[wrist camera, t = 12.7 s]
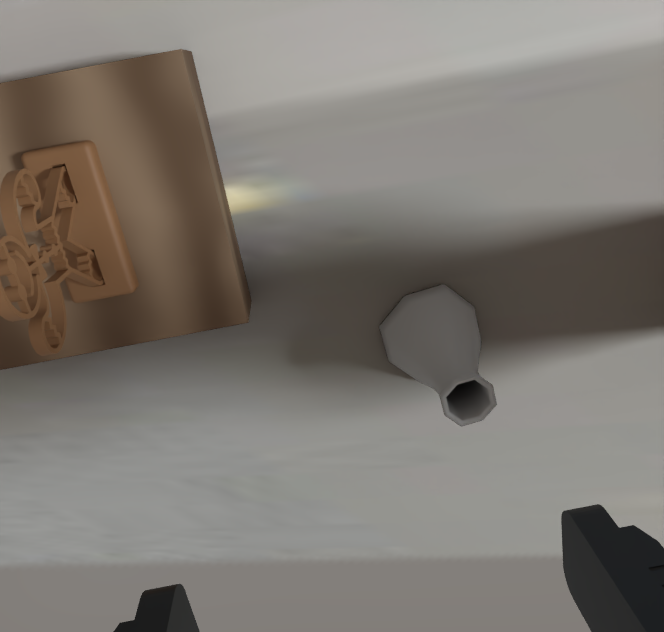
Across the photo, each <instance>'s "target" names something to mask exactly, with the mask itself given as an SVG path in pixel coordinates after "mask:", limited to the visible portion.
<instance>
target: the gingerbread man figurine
mask: <svg viewBox="0 0 664 632" xmlns="http://www.w3.org/2000/svg"><path fill="white" fill-rule="evenodd" d="M21 161H22V163H23V166H24V169H19V170H14V171H10V172H8V173H7V174H6V175H5V176H4V178H3V180H2V183H1V189H0V207H1V214H2V219H3V223H4V227H5V230H6V233H7V236H3V237H0V277H2V276H7V277H8V279H9V282H10V284H11V286H6V287H5V288H4V289H3V286H2V283H1V279H0V316H1V317H3V318H4V319H6V320H8V321H12V322H14V321H20V320H25V319H30V321H29V326H28V331H29V338H30V341H31V344H32V346H33V348H34V350H35V351H36V353H37V354H39V355H40V356H46V355H51V354H56V353H58V352H59V351H60V350H61V348H62V346H63V344H64V340H65V336H66V327H67V319H66V309H65V303H64V298H63V294H62V290H61V287H60V283H61V282H62V281H63V280H65V283H66V285H67V288H68V291H69V294H70V296H71V299H72V301H73V302H75V303H82V302H88V301H93V300H98V299H103V298H109V297H114V296H119V295H125V294H130V293H133V292H134V291H135V290H136V289H137V287H138V285H139V283H138V280H137V277H136V273H135V270H134V267H133V264H132V261H131V257H130V254H129V251H128V248H127V245H126V241H125V238H124V235H123V232H122V229H121V225H120V222H119V219H118V216H117V213H116V209H115V206H114V203H113V200H112V197H111V193H110V190H109V187H108V184H107V181H106V177H105V174H104V171H103V168H102V164H101V161H100V158H99V155H98V152H97V148H96V145H95V144H94V142H92V141H90V140H86V141H80V142H75V143H70V144H64V145H59V146H54V147H49V148H43V149H38V150H33V151H29V152H26V153H24V154H23V155H22V156H21ZM16 198H18V203H19V206H21V207H23V208H22V209H21V214H20V216H21V223H22V226H23V229H24V231H25V233H26V232H32V231H37V230H39V229H40V230H41V231H42V232H43V238H44V239H45V240H46V241H45V246H40V251H39V252H38V249H37V245H36V244H30V245H28V244H27V241H26V238H25V236H24V233H23V230H22V227H21V224H20V220H19V216H18V211H17V202H16ZM38 209H39V210H40V213H41V216H40V218H39V219H37V220H36V211H37V210H38ZM7 249H8V250H9V251H10V252H8V250H7ZM49 257H51V261H52V262H53V263H54V269H55V270H56V271H57V272H56V273H55V274H54V275H52V276H51V277H50V278H49V279H48V280H47V281H46V282H44V285H45V288H46V291H47V294H48V297H49V301H50V306H51V313H52V319H51V317H48V316H49V311H50V307H49V301H48V297H47V294H46V291H45V289H44V286H43V284H42V281H44V280H45V279H46V278H47V272H46V271H45V269H44V268H43V266H42V265H41V264H45V263H48V262H49ZM14 302H18V305H19V307H20V310H21V311H18V310H17V309H16V308H15V307H14V306H13V305H12V304H11V303H14Z"/></svg>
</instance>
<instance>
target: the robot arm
mask: <svg viewBox="0 0 664 632" xmlns="http://www.w3.org/2000/svg"><path fill="white" fill-rule="evenodd" d="M561 520H562V546H563V568H564V573H565V578H566V581H567V585H568V587H569V590H570V593H571V595H572V597H573V599H574V601H575V603H576V604H577V606H578V608H579V610H580V612H581V614H582V615H583V617H584V619H585V621H586V623H587V624H588V626H589V628H590V630H591V632H664V548H663V547H662V546H661V544H660V543H659V542H658V541H657V540H655V539H654V538H652V537H651V536H649V535H648V534H646V533H645V532H643V531H642V530H640V529H639V528H637V527H636V526H634V525H632V526H627V527H622V528H619V527H618V526H617V525H616V523H615V522H614V521H613V519H612V518H611V517H610V515H609V514H608V513H607V511H606V510H605V509H604V508H603V507H602V506H601V505H599V504H597V505H592V506H587V507H582V508H577V509H572V510H566V511H563V512H562V518H561ZM114 632H199V629H198V626H197V623H196V620H195V618H194V615H193V612H192V609H191V606H190V603H189V601H188V598H187V595H186V592H185V589H184V587H183V586H182V585H181V584H176V585H171V586H166V587H161V588H156V589H150V590H145V591H144V592H143V593H142V595H141V598H140V602H139V605H138V609H137V613H136V617H135V620H133V621H128V622H122V623H120V624H119V625H118V626H117V628H116V629H115V631H114Z"/></svg>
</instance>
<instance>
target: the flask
mask: <svg viewBox="0 0 664 632" xmlns="http://www.w3.org/2000/svg"><path fill="white" fill-rule="evenodd" d="M379 328H380V332H381V335H382V339H383V342H384V346H385V350H386V353H387V357H388V361H389V362H391V363H392V364H394V365H395V366H397V367H398V368H399V369H401V370H402V371H404V372H405V373H407V374H408V375H410V376H411V377H413V378H414V379H416V380H417V381H419V382H421V383H422V384H425V385H427V386H429V387H432V388H433V389H434V390H435V391H436V392H437V393H438V394H439V396H440V400H441V404H442V408H443V412H444V415H445V416H446V417H448V418H449V419H451V420H452V421H454V422H455V423H457V424H458V425H460V426H465V425H468V424H472V423H475V422H479V421H482V420H483V419H484V418H485V417H486V416H487V415H488V414H489V413H490V412H491V411H492V410H493V408H494V407H495V406H496V405H497V403H496V398H495V394H494V389H493V385H492V384H491V383H489V382H488V381H486V380H485V379H484V378H482V377H481V376H480V375H479V373H478V364H479V355H480V350H481V337H480V332H479V328H478V323H477V318H476V313H475V308H474V306H473V305H471V304H470V303H469V302H467V301H466V300H465V299H463V298H462V297H461V296H459V295H458V294H457V293H455V292H454V291H453V290H451V289H450V288H449V287H447V286H446V285H445V284H443V285H440V286H436V287H433V288H429V289H426V290H423V291H419V292H416V293H412V294H409V295H405V296H404V297H403V298H402V300H401V301H400V302H399V303H398V304H397V306H396V307H395V308H394V309H393V310H392V312H391V313H390V314H389V315H388V316H387V318H386V319H385V320H384V321H383V322H382V324H381V325H380V326H379Z"/></svg>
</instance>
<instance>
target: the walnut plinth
mask: <svg viewBox="0 0 664 632" xmlns="http://www.w3.org/2000/svg"><path fill="white" fill-rule="evenodd" d="M86 140H90V141H92V142H94V144H95V145H96V148H97V152H98V155H99V158H100V161H101V164H102V168H103V171H104V174H105V177H106V181H107V184H108V187H109V190H110V193H111V197H112V200H113V203H114V206H115V209H116V213H117V216H118V219H119V222H120V225H121V229H122V232H123V235H124V238H125V241H126V245H127V248H128V251H129V254H130V257H131V261H132V264H133V267H134V270H135V273H136V277H137V280H138V283H139V285H138V287H137V289H136V290H135V291H134V292H133V293H130V294H125V295H119V296H114V297H109V298H103V299H98V300H93V301H88V302H82V303H75V302H73V301H72V299H71V296H70V294H69V291H68V288H67V285H66V283H65V280H63V281H62V282H61V283H60V287H61V290H62V294H63V298H64V303H65V309H66V319H67V327H66V336H65V340H64V344H63V346H62V348H61V350H60V351H59V352H58V353H56V354H51V355H46V356H40V355H39V354H37V353H36V351H35V350H34V348H33V346H32V344H31V341H30V338H29V331H28V326H29V321H30V319H25V320H20V321H14V322H12V321H8V320H6V319H4V318H3V317H1V316H0V370H2V369H7V368H13V367H18V366H23V365H28V364H34V363H39V362H44V361H49V360H55V359H60V358H65V357H70V356H76V355H81V354H86V353H91V352H96V351H102V350H107V349H112V348H117V347H123V346H128V345H133V344H138V343H144V342H149V341H154V340H159V339H165V338H170V337H175V336H180V335H185V334H191V333H196V332H201V331H206V330H212V329H217V328H222V327H227V326H233V325H238V324H243V323H248V322H249V315H250V308H251V296H250V292H249V288H248V284H247V280H246V276H245V272H244V267H243V263H242V259H241V255H240V251H239V247H238V243H237V238H236V234H235V230H234V226H233V222H232V218H231V213H230V209H229V205H228V201H227V197H226V193H225V189H224V184H223V180H222V176H221V172H220V168H219V164H218V160H217V155H216V151H215V147H214V143H213V139H212V135H211V131H210V126H209V122H208V118H207V114H206V110H205V106H204V101H203V97H202V93H201V89H200V85H199V81H198V77H197V72H196V68H195V64H194V60H193V56H192V52H191V51H187V50H183V49H179V50H174V51H169V52H163V53H158V54H153V55H147V56H142V57H137V58H131V59H126V60H121V61H116V62H110V63H105V64H100V65H94V66H89V67H84V68H78V69H73V70H68V71H63V72H57V73H52V74H47V75H41V76H36V77H31V78H25V79H20V80H15V81H9V82H4V83H0V189H1V183H2V180H3V178H4V176H5V175H6V174H7V173H8V172H10V171H14V170H19V169H24V166H23V163H22V161H21V156H22V155H23V154H24V153H26V152H29V151H33V150H38V149H43V148H49V147H54V146H59V145H64V144H70V143H75V142H80V141H86ZM16 202H17V211H18V216H19V220H20V224H21V227H22V230H23V233H24V236H25V238H26V241H27V244H28V245H30V244H36V245H37V249H38V252H39V251H40V246H45V241H46V240H45V239H44V238H43V232H42V231H41V230H40V229H39V230H37V231H32V232H26V233H25V231H24V229H23V226H22V223H21V216H20V214H21V209H22V208H23V207H21V206H19V203H18V198H16ZM40 216H41V213H40V210H39V209H38V210H37V211H36V220H37V219H39V218H40ZM3 236H7V233H6V230H5V227H4V223H3V219H2V214H1V207H0V237H3ZM7 250H8V249H7ZM8 252H10V251H9V250H8ZM41 265H42V266H43V268H44V269H45V271H46V272H47V278H46V279H45V280H44V281H42V284H43V286H44V289H45V291H46V288H45V285H44V282H46V281H47V280H48V279H49V278H50V277H51V276H52V275H54V274H55V273H56V272H57V271H56V270H55V269H54V263H53V262H52V261H51V257H49V262H48V263H45V264H41ZM0 279H1V283H2V286H3V289H4V288H5V287H6V286H11V284H10V282H9V279H8V277H7V276H2V277H0ZM46 294H47V291H46ZM47 297H48V294H47ZM48 301H49V297H48ZM11 304H12V305H13V306H14V307H15V308H16V309H17V310H18V311H21V310H20V307H19V305H18V302H14V303H11ZM49 307H50V311H49V316H48V317H51V319H52V313H51V306H50V301H49Z"/></svg>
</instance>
